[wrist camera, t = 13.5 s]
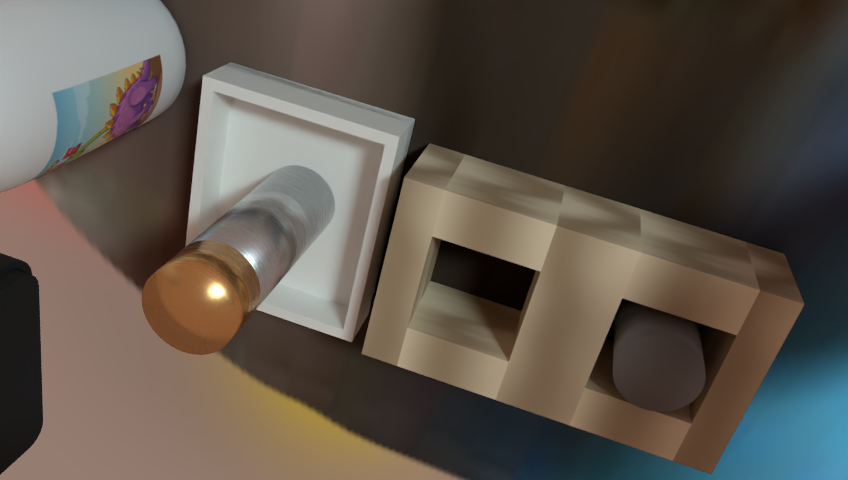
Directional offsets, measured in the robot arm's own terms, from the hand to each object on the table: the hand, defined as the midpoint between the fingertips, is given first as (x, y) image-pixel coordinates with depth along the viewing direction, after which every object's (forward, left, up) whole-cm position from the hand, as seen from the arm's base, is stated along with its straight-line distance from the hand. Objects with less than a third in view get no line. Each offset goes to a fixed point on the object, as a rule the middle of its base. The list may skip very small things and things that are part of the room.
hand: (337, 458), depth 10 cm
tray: (+10, +12, -29) cm, 33 cm away
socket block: (-5, +11, -29) cm, 32 cm away
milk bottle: (+21, +7, -30) cm, 37 cm away
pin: (+10, +11, -28) cm, 32 cm away
